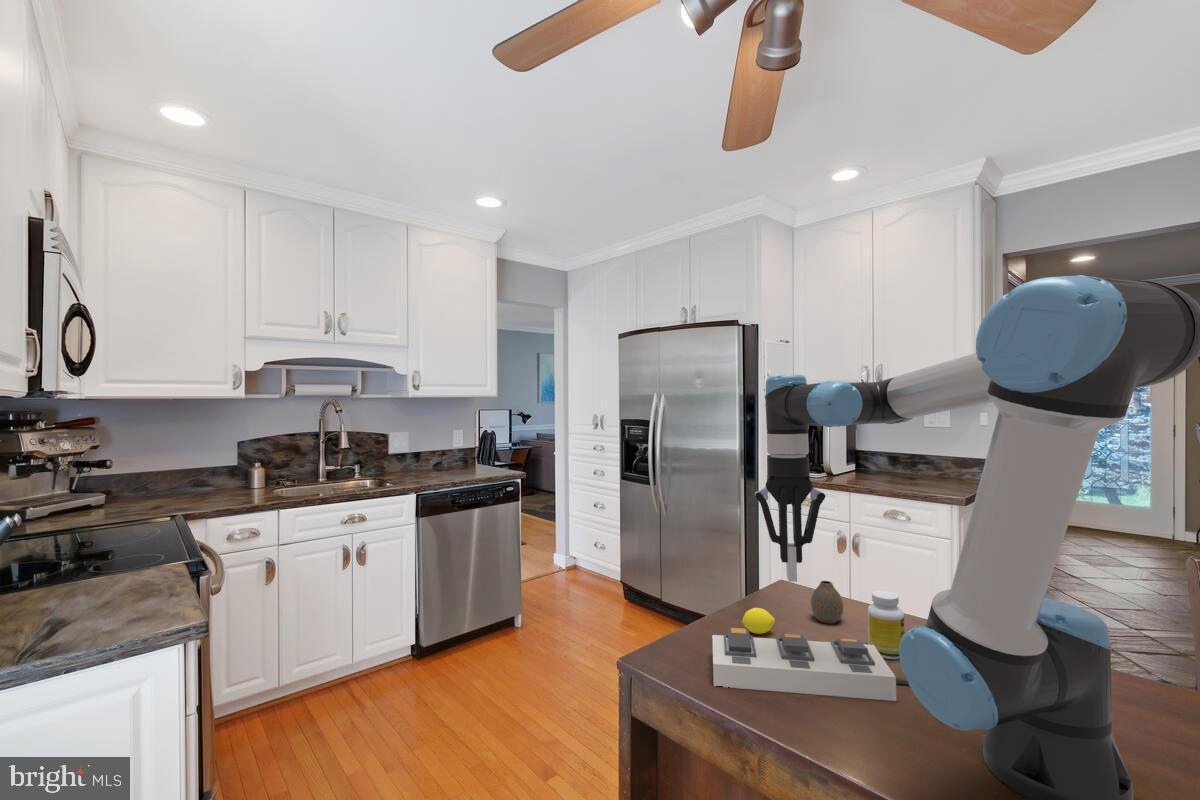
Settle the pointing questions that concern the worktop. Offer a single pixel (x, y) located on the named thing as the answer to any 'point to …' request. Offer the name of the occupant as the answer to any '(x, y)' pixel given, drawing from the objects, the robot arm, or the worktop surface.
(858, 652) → the rocker
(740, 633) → the rocker
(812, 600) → the vase
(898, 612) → the pill bottle
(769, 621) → the lemon
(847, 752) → the worktop surface
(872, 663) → the rocker switch box
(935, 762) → the worktop surface
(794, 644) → the dark grey flat block
